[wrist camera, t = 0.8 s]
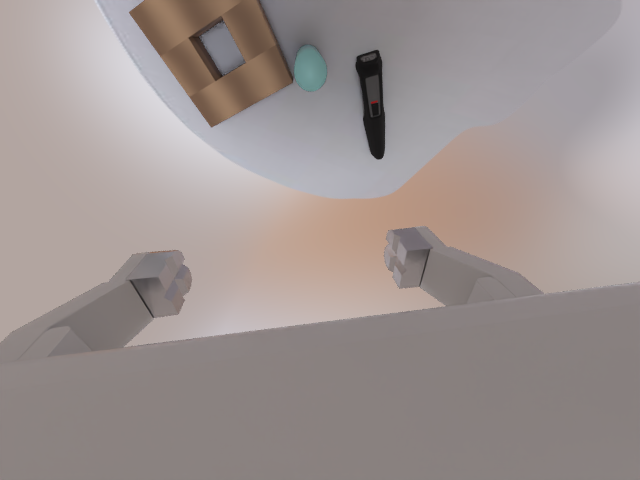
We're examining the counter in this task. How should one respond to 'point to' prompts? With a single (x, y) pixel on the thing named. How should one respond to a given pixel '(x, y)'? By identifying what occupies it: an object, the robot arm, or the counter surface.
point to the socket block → (196, 64)
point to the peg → (309, 68)
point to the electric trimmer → (372, 100)
